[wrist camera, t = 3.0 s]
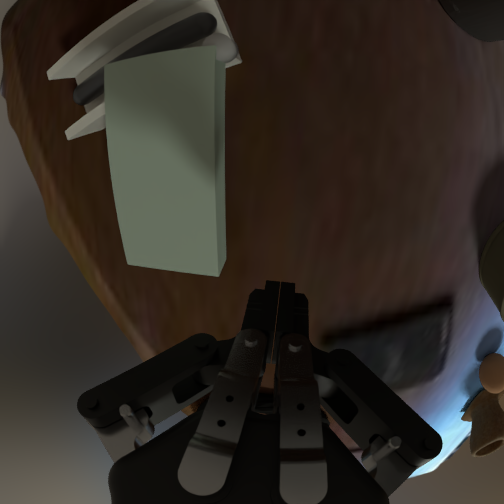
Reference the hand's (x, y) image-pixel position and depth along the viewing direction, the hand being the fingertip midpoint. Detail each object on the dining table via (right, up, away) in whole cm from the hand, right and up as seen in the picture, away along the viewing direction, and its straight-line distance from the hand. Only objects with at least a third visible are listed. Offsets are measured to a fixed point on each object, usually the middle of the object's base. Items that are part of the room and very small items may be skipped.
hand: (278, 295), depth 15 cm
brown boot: (+51, -31, +25) cm, 65 cm away
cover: (-7, +9, +5) cm, 12 cm away
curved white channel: (-11, +20, +6) cm, 24 cm away
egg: (+40, -16, +18) cm, 47 cm away
